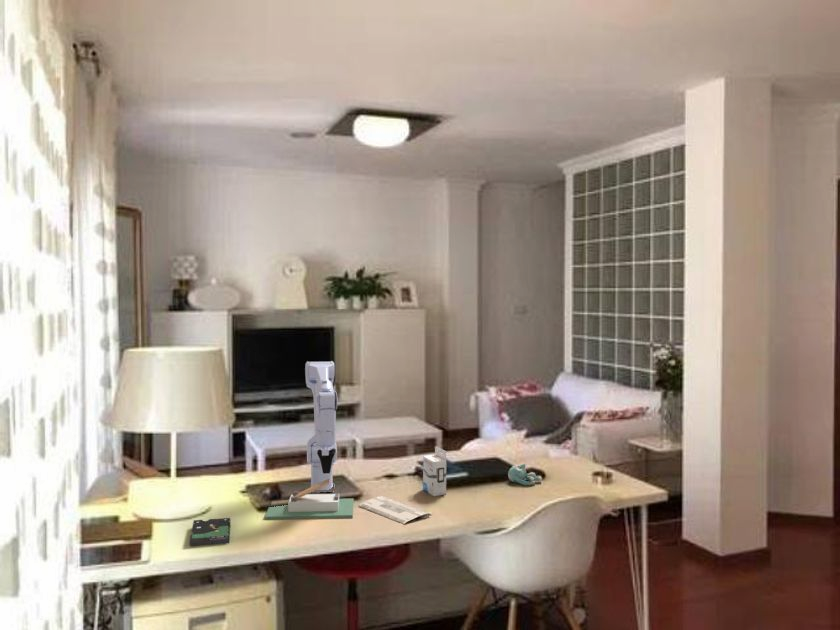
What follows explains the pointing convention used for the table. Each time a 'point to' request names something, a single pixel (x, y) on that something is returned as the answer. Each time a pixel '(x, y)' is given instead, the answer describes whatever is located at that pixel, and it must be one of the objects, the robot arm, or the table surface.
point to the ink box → (435, 473)
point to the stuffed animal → (522, 475)
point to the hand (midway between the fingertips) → (326, 472)
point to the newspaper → (393, 509)
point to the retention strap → (312, 488)
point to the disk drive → (210, 532)
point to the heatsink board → (310, 515)
